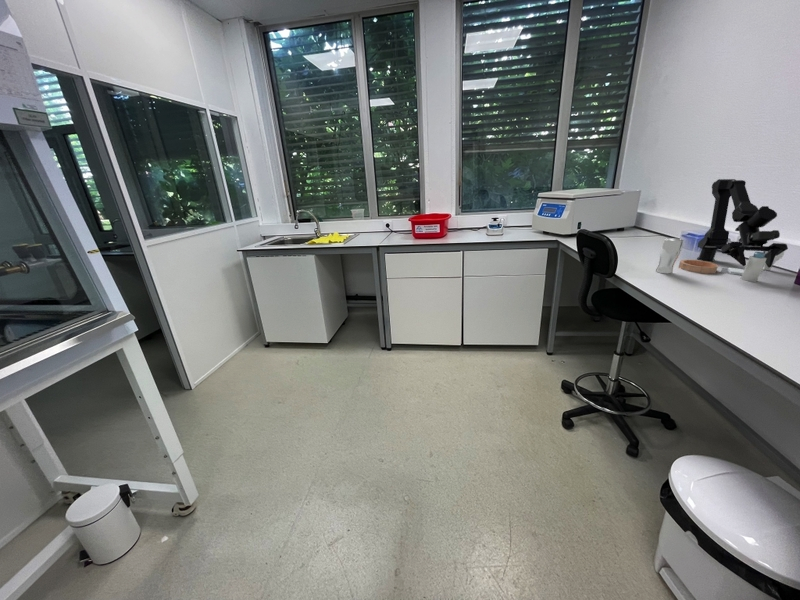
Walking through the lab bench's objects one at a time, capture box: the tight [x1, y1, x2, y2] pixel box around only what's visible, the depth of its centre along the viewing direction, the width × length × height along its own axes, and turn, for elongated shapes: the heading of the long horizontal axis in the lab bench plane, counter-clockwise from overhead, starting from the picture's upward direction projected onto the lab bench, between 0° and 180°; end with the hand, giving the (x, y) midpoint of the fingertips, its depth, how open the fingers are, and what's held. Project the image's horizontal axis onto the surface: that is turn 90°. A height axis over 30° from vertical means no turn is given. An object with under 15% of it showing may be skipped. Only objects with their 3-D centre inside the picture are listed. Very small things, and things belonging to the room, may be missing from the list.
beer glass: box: [655, 237, 684, 275], centre depth 143 cm, size 7×7×15 cm
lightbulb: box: [762, 251, 785, 272], centre depth 143 cm, size 6×6×11 cm
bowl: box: [678, 259, 719, 274], centre depth 148 cm, size 13×13×3 cm
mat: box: [720, 267, 742, 277], centre depth 142 cm, size 10×10×1 cm
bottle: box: [740, 251, 767, 283], centre depth 131 cm, size 5×5×12 cm
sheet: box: [727, 267, 745, 276], centre depth 142 cm, size 7×5×1 cm
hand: (757, 266), depth 130 cm, fingers open, 8 cm apart
